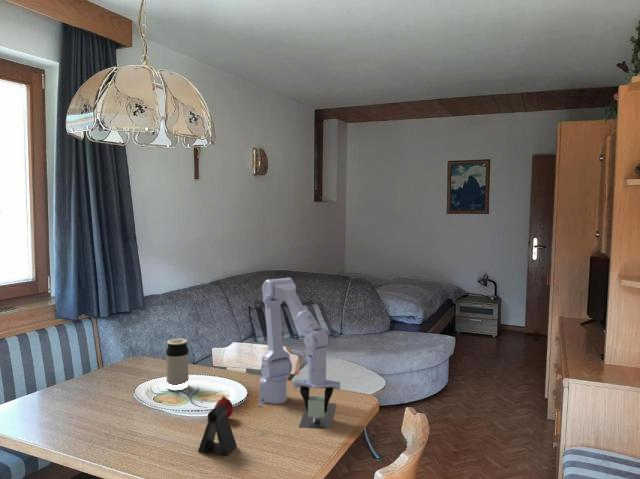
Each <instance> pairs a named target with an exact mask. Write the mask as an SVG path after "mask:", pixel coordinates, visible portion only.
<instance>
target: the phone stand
mask: <svg viewBox="0 0 640 479" xmlns="http://www.w3.org/2000/svg"><path fill="white" fill-rule="evenodd" d="M220 405H221V404H219V405H218V406H217V407H215V406H214V408H213V409H212V410H211V411H209V412H208V414H207V424H206V427H205V430H204V432H203V435H202V439H201V441H200V444H199V447H198V449H197V453H199V454H200V453H201V454H207V455H208V454H209V455H214V456H215V455H216V456H222V457H228V456H230V454H231V452H233V450H234V449H236V447H237V442H236V439H235V435H234V433H233V429H232V426H231V424H230V421H229V417H227V407H226V406H225V405H224V404H223V405H222V406H221V407H219V406H220ZM218 407H219V408H218ZM216 436H217V440H218V441H217V442H215V438H216Z"/></svg>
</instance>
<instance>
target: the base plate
mask: <svg viewBox="0 0 640 479" xmlns="http://www.w3.org/2000/svg"><path fill="white" fill-rule="evenodd" d="M336 406H337V404H336V403H333V402H332V403H331V402H329V403H328V406H327V412H325V415H324V417H309V416H308V411H306V406H305V407H304V410H303V413H302V415H301V420H300V422H299V425H298V428H299V429H300V428H301V429H303V428H304V429H317V430H332V427H333V423H334V418H335V416H334V415H335V411H336Z"/></svg>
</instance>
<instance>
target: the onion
mask: <svg viewBox="0 0 640 479" xmlns="http://www.w3.org/2000/svg"><path fill="white" fill-rule="evenodd" d="M232 403H233V402H231V400H230V399H228V398H227V397H226V396H225V395H222V396H221V398H219V400H218V401H217V402H216V403H215V406H214V408H215V407H217V406H218V405H219V404H221V405H220V406H219V407H221V406H222V405H223V404H224V405H225V406H226V407H227V417H228V418H230V417H231V415H232V414H233V412H234V406H233V404H232ZM219 407H218V408H219Z"/></svg>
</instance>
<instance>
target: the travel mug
mask: <svg viewBox="0 0 640 479" xmlns="http://www.w3.org/2000/svg"><path fill="white" fill-rule="evenodd" d="M166 343H167V348H166V350H165V352H166V353H165V354H166V359H165V360H166V364H165V365H166V383H167V382H168V383H169V384H172V385H178V384H182V383H185V382H186V381H188V379H189V347H188V346H187V343H188V339H186V338H173V339H169V340H167V341H166Z"/></svg>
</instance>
